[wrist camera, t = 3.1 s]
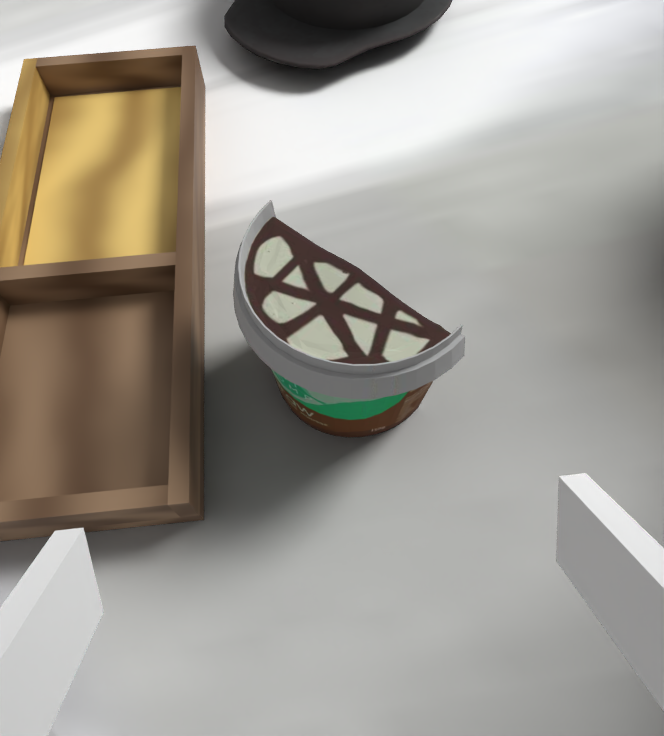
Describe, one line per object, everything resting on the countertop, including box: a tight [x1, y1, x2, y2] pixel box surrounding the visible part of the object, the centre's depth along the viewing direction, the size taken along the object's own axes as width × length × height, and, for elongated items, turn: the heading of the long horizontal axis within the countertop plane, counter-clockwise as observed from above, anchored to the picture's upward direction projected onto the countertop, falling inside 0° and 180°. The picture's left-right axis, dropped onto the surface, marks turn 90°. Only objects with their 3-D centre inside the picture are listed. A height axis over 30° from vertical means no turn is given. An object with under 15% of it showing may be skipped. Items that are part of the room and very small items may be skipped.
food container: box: [233, 200, 465, 437], centre depth 30 cm, size 12×6×10 cm, turn 50°
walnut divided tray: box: [0, 46, 205, 541], centre depth 38 cm, size 13×36×4 cm, turn 6°
